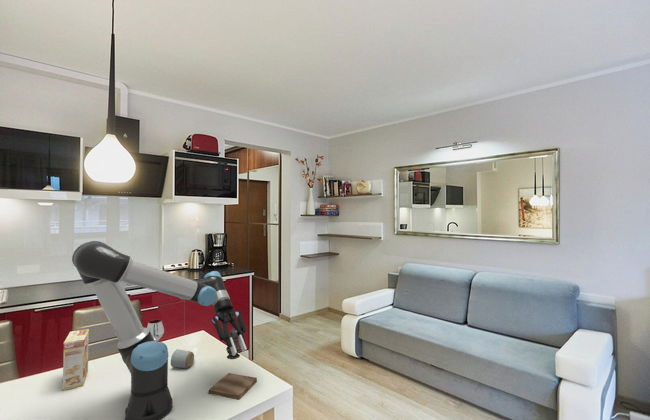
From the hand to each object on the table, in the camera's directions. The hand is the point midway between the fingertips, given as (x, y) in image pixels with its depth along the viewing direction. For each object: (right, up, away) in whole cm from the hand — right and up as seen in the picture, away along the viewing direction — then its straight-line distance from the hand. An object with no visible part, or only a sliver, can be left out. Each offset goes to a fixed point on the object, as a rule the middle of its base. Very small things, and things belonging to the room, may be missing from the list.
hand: (239, 352), depth 126 cm
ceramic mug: (-33, -17, +22) cm, 43 cm away
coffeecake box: (-73, -16, +8) cm, 75 cm away
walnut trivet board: (-4, -16, +3) cm, 17 cm away
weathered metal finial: (-4, -4, +4) cm, 6 cm away
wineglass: (-51, -17, +30) cm, 61 cm away
